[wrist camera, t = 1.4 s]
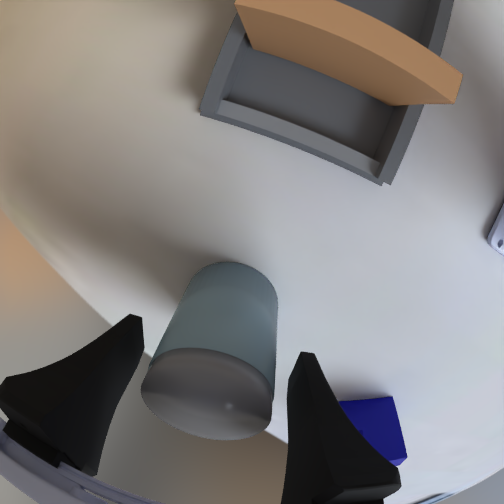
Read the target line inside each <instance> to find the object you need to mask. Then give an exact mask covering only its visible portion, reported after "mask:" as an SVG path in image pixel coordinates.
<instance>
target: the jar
mask: <svg viewBox="0 0 504 504" xmlns="http://www.w3.org/2000/svg"><path fill="white" fill-rule="evenodd" d="M277 319H278V298H277V294H276V291H275V289H274V287H273V285H272V284H271V282H270V281H269V280H268V279H267V278H266V277H265V276H264V275H263V274H262V273H260V272H259V271H257V270H256V269H254V268H252V267H249V266H247V265H244V264H241V263H235V262H220V263H215V264H211V265H209V266H206V267H204V268H203V269H201V270H200V271H199V272H197V273H196V274H195V276H194V277H193V278H192V280H191V281H190V283H189V285H188V287H187V289H186V291H185V293H184V295H183V297H182V299H181V301H180V303H179V305H178V307H177V309H176V311H175V313H174V315H173V317H172V319H171V321H170V323H169V325H168V327H167V329H166V331H165V333H164V335H163V337H162V339H161V341H160V343H159V345H158V348H157V350H156V352H155V354H154V356H153V358H152V360H151V362H150V364H149V368H148V372H147V374H146V376H145V378H144V381H143V383H142V385H141V395H142V398H143V400H144V402H145V404H146V405H147V407H148V408H149V409H150V410H151V411H152V412H153V413H154V414H155V415H156V416H157V417H158V418H160V419H161V420H162V421H164V422H165V423H167V424H169V425H170V426H172V427H174V428H176V429H178V430H181V431H183V432H186V433H189V434H192V435H195V436H199V437H203V438H209V439H216V440H237V439H243V438H248V437H251V436H254V435H256V434H258V433H260V432H262V431H263V430H264V429H266V428H267V426H268V425H269V424H270V421H271V416H272V402H273V400H274V389H275V369H276V346H277Z"/></svg>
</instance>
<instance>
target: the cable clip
mask: <svg viewBox="0 0 504 504" xmlns="http://www.w3.org/2000/svg"><path fill="white" fill-rule="evenodd" d="M339 404H340V406H341V407H342V409H343V411H344V412H345V414H346V415H347V417H348V418H349V419H350V421H351V422H352V424H353V425H354V426H355V427H356V429H357V430H358V431H359V432H360V434H361V435H362V436H363V437H364V438H365V439H366V440H367V441H368V442H369V443H370V445H371V446H372V447H373V448H374V449H376V450H377V451H378V452H379V453H380V454H381V455H382V456H383V457H384V458H386V459H387V460H388V461H389V462H391V463H392V464H393V465H395V466H398V465H400V464H401V463H402V462H403V461H404V460H405V459H406V458H407V453H406V448H405V444H404V439H403V435H402V431H401V427H400V423H399V419H398V415H397V411H396V407H395V403H394V400H393V396H392V397H384V398H375V399H365V400H353V401H339Z"/></svg>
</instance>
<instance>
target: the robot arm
mask: <svg viewBox="0 0 504 504" xmlns="http://www.w3.org/2000/svg"><path fill="white" fill-rule="evenodd" d="M487 241H488V244H489V245H490V246H491V247H492V248H494V249H495V250H496V251H498V252H499V253H500V254H501V255H503V256H504V204H503V206H502V208H501V210H500V213H499V215H498V217H497V219H496V221H495V223H494V225H493V227H492V229H491V231H490V233H489V235H488V240H487ZM498 241H499V243H498ZM144 348H145V347H144V337H143V324H142V317H139V316H136V315H133V314H129V315H128V316H126V317H125V318H124V319H122V320H121V321H120V322H118V323H117V324H116V325H114V326H113V327H112V328H111V329H109V330H108V331H107V332H105V333H104V334H102V335H101V336H100V337H98V338H97V339H96V340H94V341H93V342H91V343H89V344H88V345H86V346H85V347H83V348H82V349H80V350H78V351H77V352H75V353H73V354H72V355H70V356H68V357H66V358H64V359H62V360H60V361H57V362H55V363H53V364H51V365H48V366H46V367H43V368H40V369H37V370H34V371H31V372H27V373H23V374H19V375H14V376H9V377H6V378H5V380H4V381H3V382H2V384H1V385H0V408H1V410H2V411H3V412H4V413H5V415H6V416H7V417H8V418H9V420H8V422H7V423H6V422H5V421H4V420H3V419H2V418H0V474H1V475H2V476H3V477H4V478H5V479H7V480H8V481H9V482H10V483H12V484H13V485H14V486H15V487H17V488H18V489H19V490H21V491H22V492H23V493H25V494H26V495H27V496H29V497H30V498H32V499H33V500H35V501H36V502H37V503H39V504H108V503H107V502H106V501H104V500H102V499H100V498H98V497H96V496H94V495H92V494H90V493H88V492H86V491H85V490H84V489H86V490H88V491H90V492H92V493H94V494H97V495H99V496H101V497H103V498H106V499H108V500H111V501H113V502H115V503H118V504H164V503H161V502H157V501H154V500H151V499H148V498H144V497H141V496H138V495H136V494H133V493H130V492H127V491H124V490H122V489H119V488H116V487H114V486H112V485H109V484H107V483H105V482H102V481H100V480H98V479H96V478H93V476H95V475H97V472H98V467H99V463H100V458H101V454H102V450H103V446H104V442H105V439H106V436H107V432H108V429H109V426H110V423H111V420H112V418H113V414H114V412H115V409H116V407H117V405H118V403H119V401H120V399H121V396H122V395H123V393H124V391H125V389H126V387H127V385H128V383H129V382H130V380H131V378H132V376H133V374H134V372H135V370H136V368H137V366H138V364H139V361H140V358H141V356H142V353H143V351H144ZM287 417H288V455H287V465H286V474H285V481H284V489H283V494H282V500H281V504H384V501H383V499H384V498H386V497H387V496H389V495H391V494H393V493H395V492H396V491H398V490H399V489H400V488H401V480H400V474H399V471H398V468H397V467H396V466H395V465H393V464H392V463H391V462H389V461H388V460H387V459H386V458H384V457H383V456H382V455H381V454H380V453H379V452H378V451H377V450H376V449H374V448H373V447H372V446H371V445H370V443H369V442H368V441H367V440H366V439H365V438H364V437H363V436H362V435H361V434H360V432H359V431H358V430H357V429H356V427H355V426H354V425H353V424H352V422H351V421H350V419H349V418H348V417H347V415H346V414H345V412H344V411H343V409H342V407H341V406H340V404H339V402H338V401H337V399H336V397H335V395H334V394H333V392H332V390H331V388H330V386H329V384H328V382H327V380H326V378H325V376H324V374H323V372H322V370H321V367H320V365H319V363H318V361H317V358H316V356H315V354H314V353H308V352H300V355H299V357H298V359H297V361H296V364H295V366H294V368H293V370H292V373H291V375H290V377H289V379H288V390H287Z"/></svg>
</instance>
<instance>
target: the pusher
mask: <svg viewBox="0 0 504 504" xmlns="http://www.w3.org/2000/svg"><path fill="white" fill-rule="evenodd" d="M234 5H235V7H236V9H237V11H238V14H239V16H240V18H241V21H242V23H243V26H244V28H245V30H246V33H247V35H248V38H249V40H250V43H251V45H252V48H253V49H254V50H258V51H261V52H264V53H268V54H271V55H274V56H277V57H280V58H283V59H286V60H289V61H292V62H295V63H297V64H300V65H303V66H305V67H308V68H311V69H313V70H316V71H318V72H320V73H323V74H325V75H328V76H330V77H332V78H335V79H337V80H339V81H341V82H343V83H346V84H348V85H350V86H352V87H354V88H356V89H358V90H360V91H362V92H364V93H366V94H368V95H370V96H372V97H374V98H376V99H378V100H380V101H381V102H383V103H385V104H387V105H389V106H399V105H417V104H454V103H455V100H456V97H457V94H458V91H459V87H460V84H461V80H462V77H463V74H461V73H460V72H459V71H458V70H456V69H455V68H454V67H452V66H451V65H450V64H448V63H447V62H446V61H444V60H443V59H442V58H440V57H439V56H437V55H436V54H435V53H433V52H432V51H430V50H429V49H427V48H426V47H424V46H423V45H421V44H420V43H418V42H416V41H415V40H413V39H412V38H410V37H408V36H407V35H405V34H403V33H401V32H400V31H398V30H396V29H394V28H393V27H391V26H389V25H387V24H385V23H383V22H381V21H380V20H378V19H376V18H374V17H372V16H370V15H367V14H365V13H363V12H361V11H359V10H357V9H355V8H352V7H350V6H348V5H345V4H343V3H340V2H338V1H335V0H236V1H235V3H234Z"/></svg>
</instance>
